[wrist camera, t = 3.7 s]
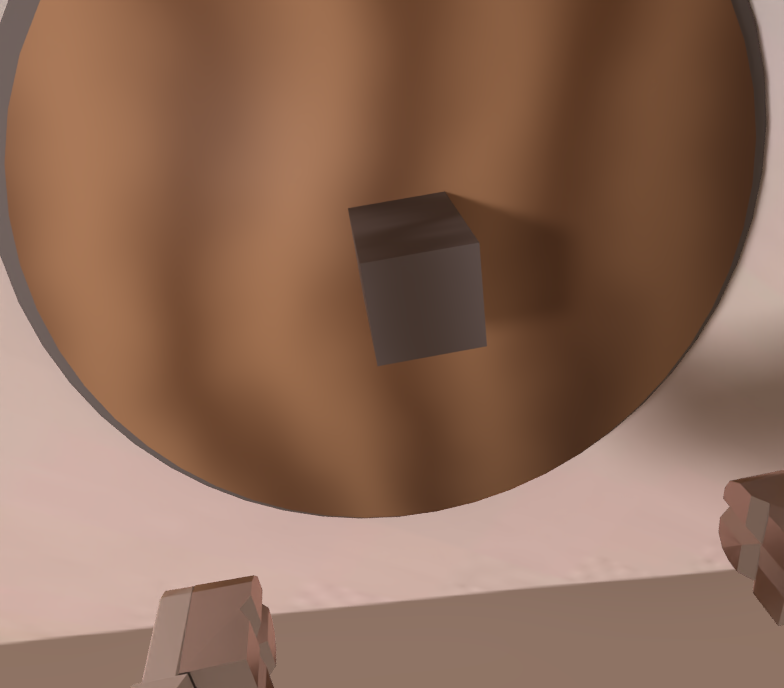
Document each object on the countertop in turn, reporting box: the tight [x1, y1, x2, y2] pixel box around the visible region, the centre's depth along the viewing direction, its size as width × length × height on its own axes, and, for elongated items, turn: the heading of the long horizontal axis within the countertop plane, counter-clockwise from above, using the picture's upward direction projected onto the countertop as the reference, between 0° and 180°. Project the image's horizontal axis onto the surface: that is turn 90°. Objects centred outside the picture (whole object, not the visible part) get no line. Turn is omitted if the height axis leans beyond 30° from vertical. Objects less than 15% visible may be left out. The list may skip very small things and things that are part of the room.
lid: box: [5, 0, 756, 518], centre depth 22 cm, size 26×26×6 cm
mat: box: [0, 0, 766, 518], centre depth 25 cm, size 28×28×1 cm
